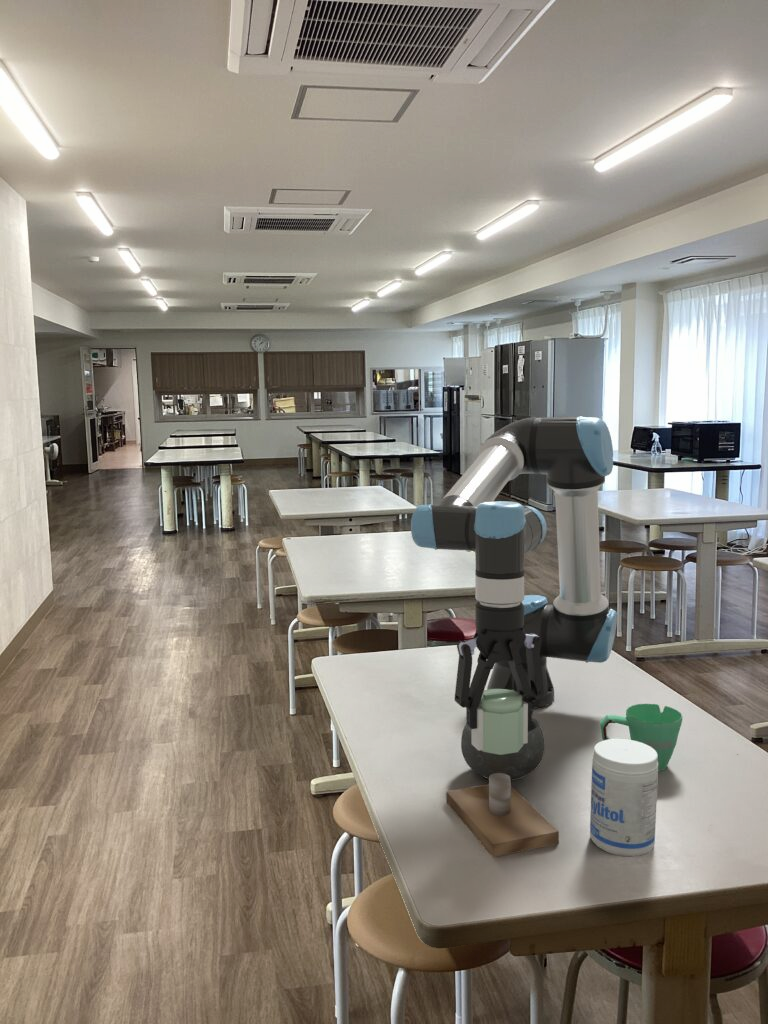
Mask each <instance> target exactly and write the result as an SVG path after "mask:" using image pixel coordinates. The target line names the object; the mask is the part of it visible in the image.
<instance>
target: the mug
mask: <svg viewBox="0 0 768 1024" xmlns="http://www.w3.org/2000/svg"><path fill="white" fill-rule="evenodd" d="M601 719H602V720H600V721H599V726H600V733H601V734H600V735H601V740H602V741H604V740H608V739H610V737H609V736H608V734H607V726H609V725H610V724H619V725H623V726H626V727H628V731H629V738H630V740H633V741H638V742H641V743H644V744H646V745H648V746H650V747H652V748H653V749H654V750H655V751H656V752H657V755H658V772H659V771H664V770H665V769H667V767H668V765H669V762H670V760H671V758H672V756H673V753H674V752H675V751H674V750H675V748H676V745H677V742H678V738H679V737H678V736H679V734H680V733H679V732H680V730H681V727H682V724H683V714H682V713H681V712H680V711H679V710H678V709H676V708H674V707H670V706H667V705H664V707H663V711H662V712H661V708H660V706H659V704H658V703H657V704H656V703H638V704H633V705H631V706H629V707H627V708H626V710H625V716H623V715H617V714H607V715H605V716H604V717H603V718H601Z"/></svg>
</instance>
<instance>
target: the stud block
mask: <svg viewBox="0 0 768 1024" xmlns="http://www.w3.org/2000/svg"><path fill="white" fill-rule="evenodd" d="M511 782H512V780H511V778H510V776H509V775H507V774H503V773H495V774H491V775H490V776H489V778H488V784H483V785H478V786H477V785H476V786H472V787H465V788H459V789H455V790H454V789H453V790H447V791H446V804H447V805H448V806H449V808H450V809H451V810H452V811H453V812H454V813H455V815H457V817H458V818H459V819H460V820H461V821H462V823H463V824H464V825H465V826H466V828H468V830H469V831H470V832H471V833H472V834H473V836H474V837H475V838H476V839H477V840H478V842H479V843H480V844H481V845H482V846H483V847H484V848H485V850H486V851H487V852H488V853H489V854H490V855H491V856H492V858H495V857H499V856H504V855H510V854H514V853H519V852H524V851H529V850H535V849H539V848H544V847H549V846H554V845H555V846H556V845H558V844H559V843H560V842H559V841H560V840H559V839H560V837H559V833H560V832H559V830H558V829H557V828H556V827H555V826H554V825H553V824H552V823H550V822H549V821H548V820H547V819H546V818H545V817H544V816H543V815H542V814H541V813H540V812H539V811H538V810H537V809H535V807H534V806H533V805H531V803H529V802H528V801H527V800H526V799H525V797H523V796H522V795H521V794H520V793H519V792H518V791H517V790H516V789H515V788H513V787H512V786H511Z"/></svg>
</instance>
